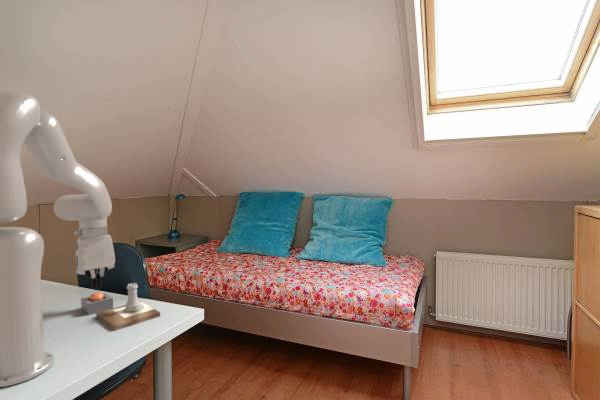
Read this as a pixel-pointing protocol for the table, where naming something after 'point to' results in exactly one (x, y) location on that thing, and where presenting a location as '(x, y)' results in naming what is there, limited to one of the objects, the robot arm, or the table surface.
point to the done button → (96, 297)
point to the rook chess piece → (132, 298)
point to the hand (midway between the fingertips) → (97, 288)
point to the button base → (96, 304)
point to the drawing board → (127, 316)
